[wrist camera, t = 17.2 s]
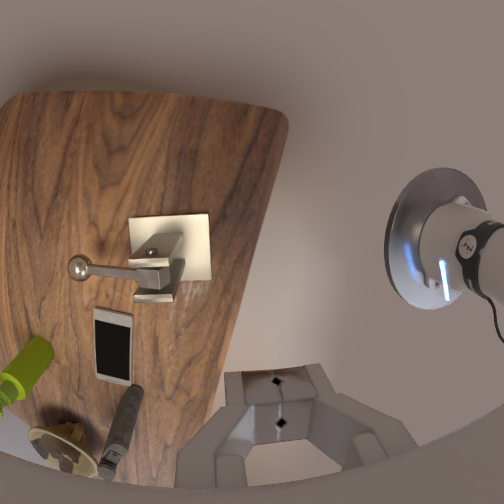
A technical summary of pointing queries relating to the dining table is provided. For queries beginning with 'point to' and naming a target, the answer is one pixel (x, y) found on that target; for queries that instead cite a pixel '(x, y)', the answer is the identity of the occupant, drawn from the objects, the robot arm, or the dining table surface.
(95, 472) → the bowl
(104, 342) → the smartphone
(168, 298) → the metal pivot stand
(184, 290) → the dining table surface
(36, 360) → the soap dispenser
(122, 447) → the flask
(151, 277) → the lever
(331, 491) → the robot arm
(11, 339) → the dining table surface
